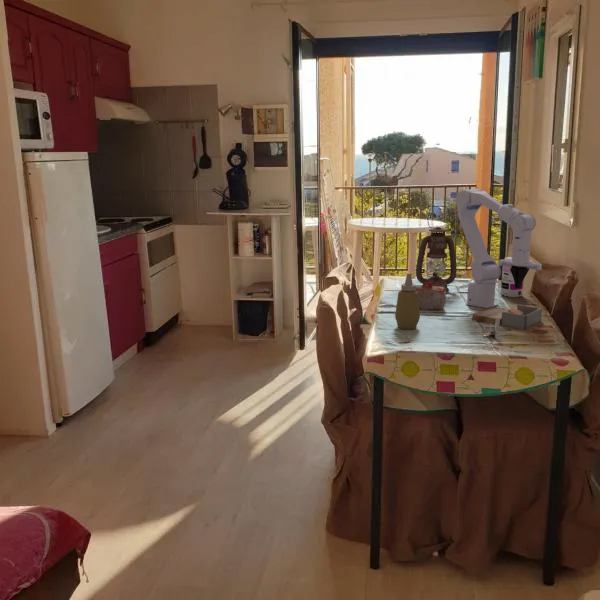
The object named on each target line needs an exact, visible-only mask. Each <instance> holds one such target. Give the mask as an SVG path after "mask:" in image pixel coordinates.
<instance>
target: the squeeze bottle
mask: <svg viewBox="0 0 600 600" xmlns="http://www.w3.org/2000/svg"><path fill="white" fill-rule="evenodd" d="M416 285H417V284H415V283H413V278H412V273H411V272H409V273H407V274H406V277H405V280H404V283H401V285H400V286H401V289H400V290H399V291H398V293H397V300H396V306H395V307H396V308H395V313H394V318H395V321H396V323H397V324H396V325H397V327H398V328H399V329H402V330H413V329H414V330H415V329H416V328H417V327H418V324H419V321H420V319H421V318H420V317H421V316H420V315H421V314H420V313H421V312H420V309H419V295H418V292H417V291H415V290H416Z"/></svg>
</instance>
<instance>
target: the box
mask: <svg viewBox="0 0 600 600" xmlns="http://www.w3.org/2000/svg"><path fill="white" fill-rule="evenodd" d="M516 307H517V308H516V309H517V310H519V311H521V312H523V313H524V314H523V315H521V314H515V313H509V312H502V320H501V325H500V326H506V327H511V328H516V329H522V330H527V329H529V328H531V327H533V326H535V325H537V324H538V323H540V322H541V321H542V314H543V308H542V307H536V306H531V305H530V306H529V305H524V304H517V305H516ZM534 324H535V325H534ZM532 325H533V326H532Z"/></svg>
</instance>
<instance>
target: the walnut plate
mask: <svg viewBox="0 0 600 600" xmlns="http://www.w3.org/2000/svg"><path fill="white" fill-rule="evenodd" d="M509 309H510V308H509ZM509 309H508V308H503V307H498V306H494V307H492V306H491V307H488V308H483V309H482V310H479V311H477V312H475V313H472V314H471V321H474V320H476V322H480V321H482V322H481V323H485V322H487V323H488V324H491V323H492V324H491V325H495V320H496V317H497V318H499V319H500V324H499V326H502V325H501V320H502V312H508V310H509Z"/></svg>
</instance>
